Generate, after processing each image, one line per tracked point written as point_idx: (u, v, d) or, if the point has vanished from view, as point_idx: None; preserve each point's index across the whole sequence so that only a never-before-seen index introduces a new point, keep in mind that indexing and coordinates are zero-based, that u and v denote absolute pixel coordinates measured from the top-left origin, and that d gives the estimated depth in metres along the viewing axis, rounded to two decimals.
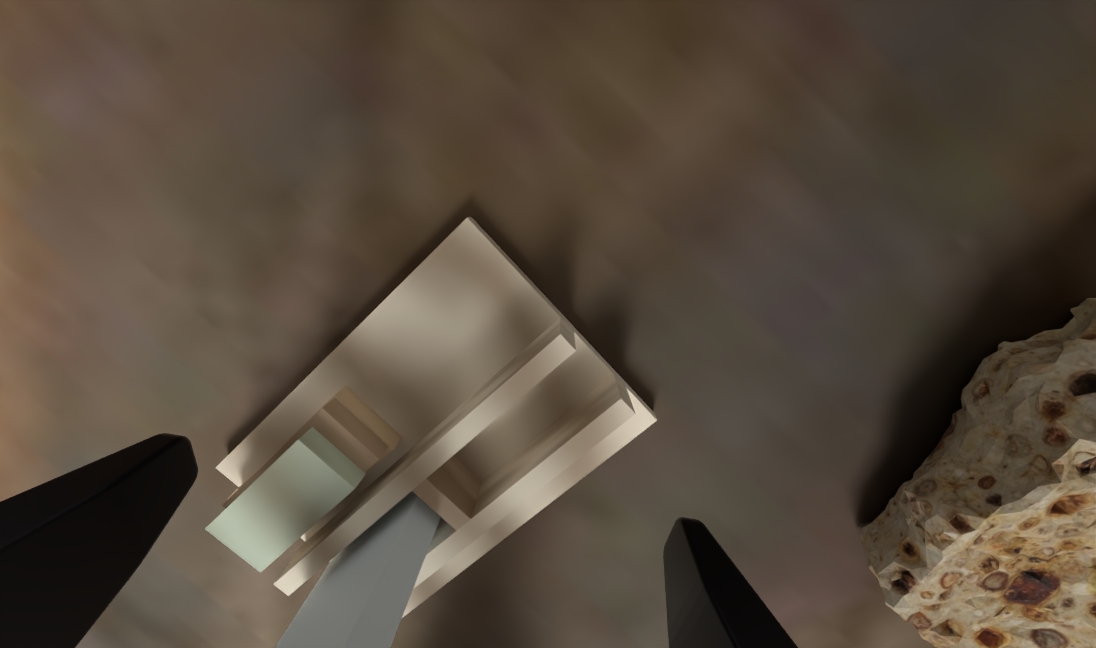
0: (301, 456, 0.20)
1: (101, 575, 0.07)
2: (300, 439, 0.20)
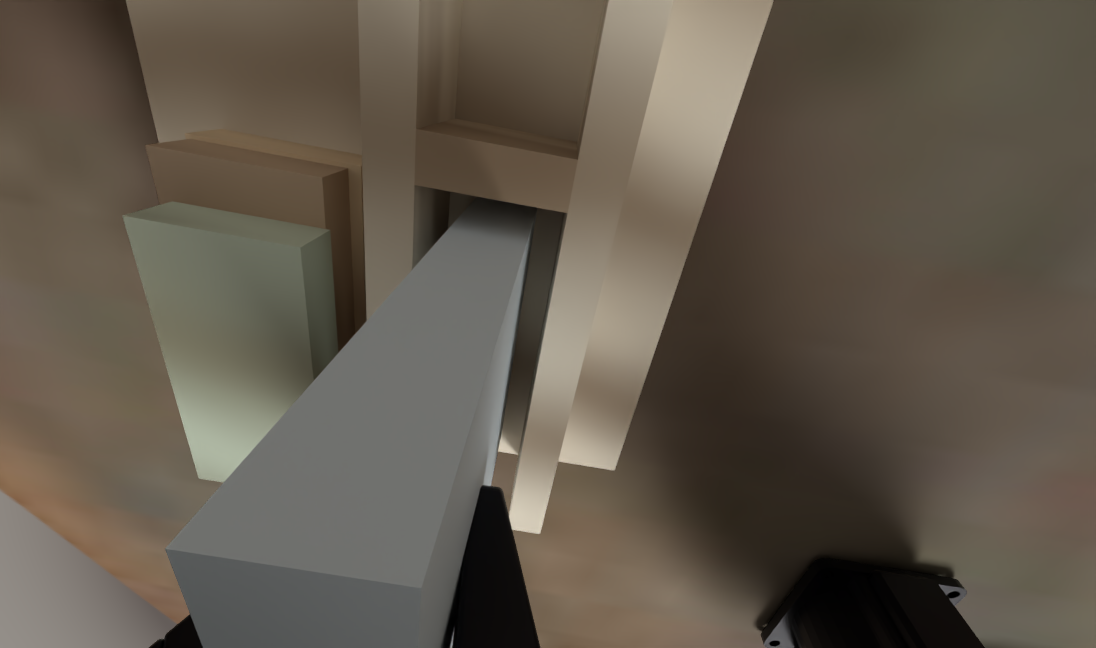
0: (163, 249, 0.09)
1: None
2: (130, 214, 0.09)
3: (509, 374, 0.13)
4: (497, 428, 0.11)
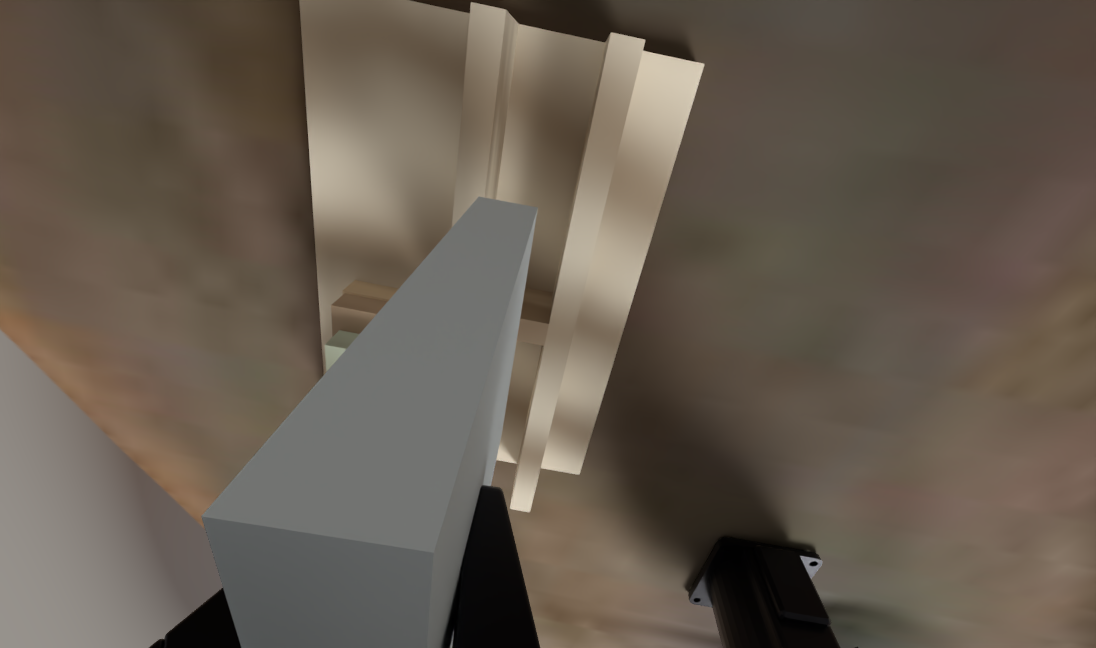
0: None
1: None
2: (327, 344, 0.17)
3: (510, 370, 0.13)
4: (498, 422, 0.11)
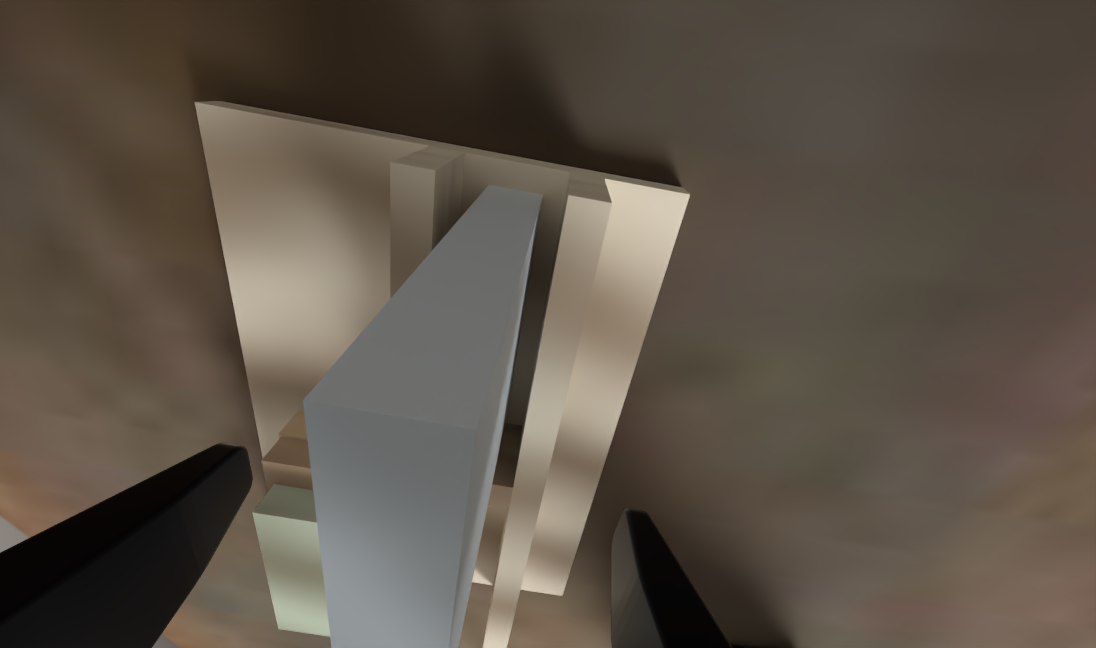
0: (274, 526, 0.15)
1: (169, 585, 0.07)
2: (256, 510, 0.15)
3: None
4: (507, 391, 0.12)
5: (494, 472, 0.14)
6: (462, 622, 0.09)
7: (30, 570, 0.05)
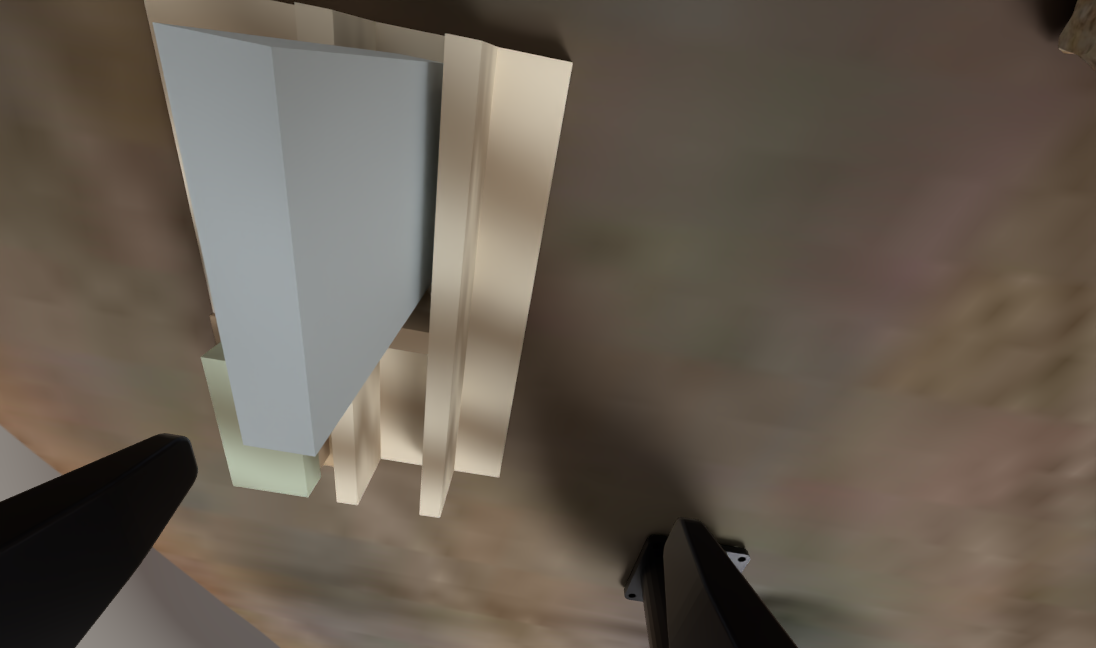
0: (220, 371, 0.17)
1: (101, 575, 0.07)
2: (204, 355, 0.17)
3: (430, 206, 0.16)
4: (411, 226, 0.14)
5: (409, 313, 0.16)
6: (352, 376, 0.11)
7: None
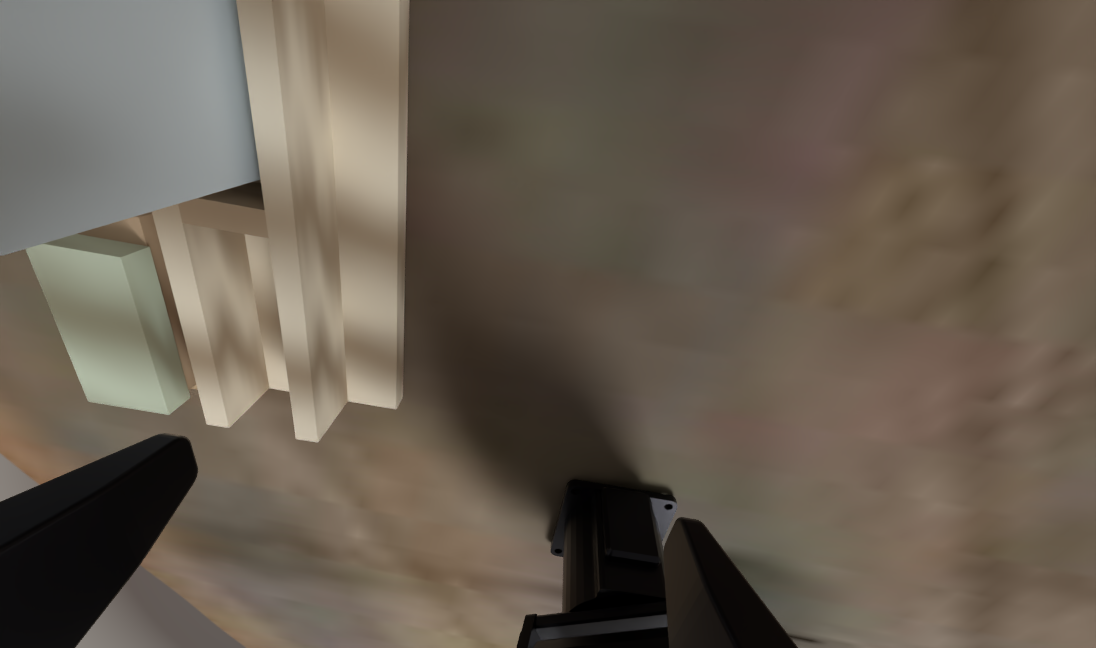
0: (46, 258, 0.16)
1: (101, 575, 0.07)
2: None
3: None
4: (214, 68, 0.13)
5: (236, 183, 0.15)
6: (90, 192, 0.10)
7: None
